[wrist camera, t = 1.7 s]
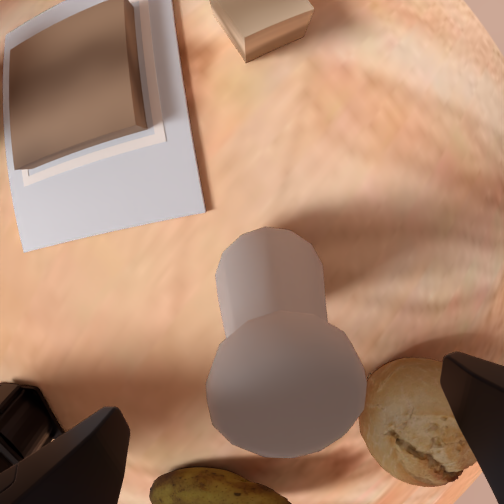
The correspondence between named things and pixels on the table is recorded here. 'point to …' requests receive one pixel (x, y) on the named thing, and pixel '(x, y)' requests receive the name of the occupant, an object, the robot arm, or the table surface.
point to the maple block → (262, 23)
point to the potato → (210, 488)
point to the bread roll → (413, 424)
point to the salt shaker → (280, 351)
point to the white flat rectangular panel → (113, 147)
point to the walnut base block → (75, 85)
